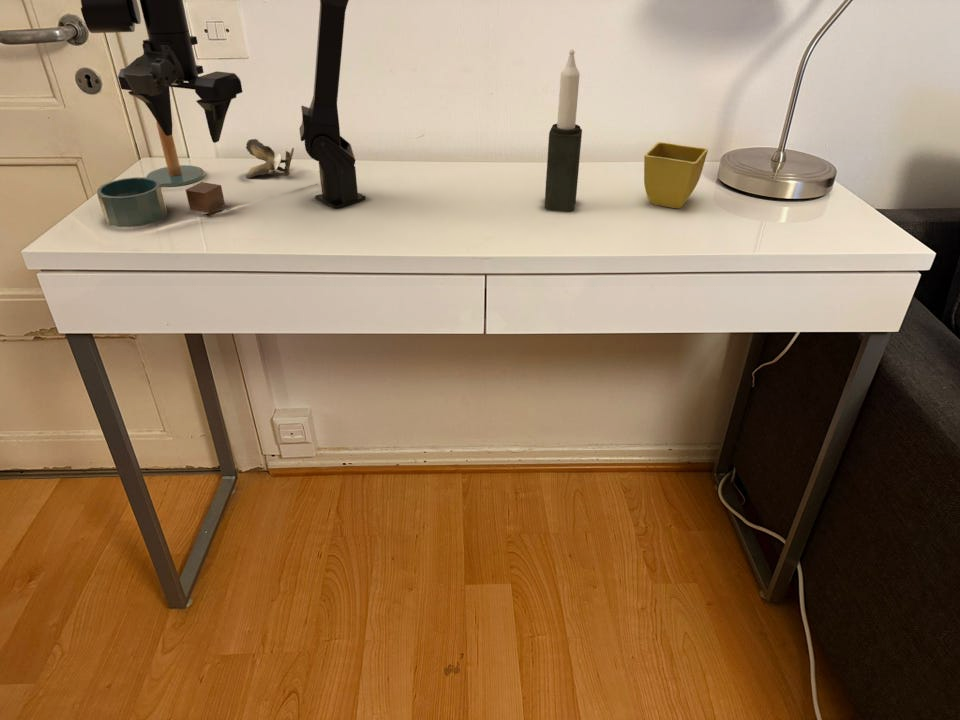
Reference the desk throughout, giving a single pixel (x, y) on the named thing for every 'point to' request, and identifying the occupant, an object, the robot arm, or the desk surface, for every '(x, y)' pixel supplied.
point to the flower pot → (672, 173)
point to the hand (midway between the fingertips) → (192, 138)
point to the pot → (132, 201)
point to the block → (205, 198)
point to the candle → (564, 145)
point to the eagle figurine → (266, 159)
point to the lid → (174, 166)
